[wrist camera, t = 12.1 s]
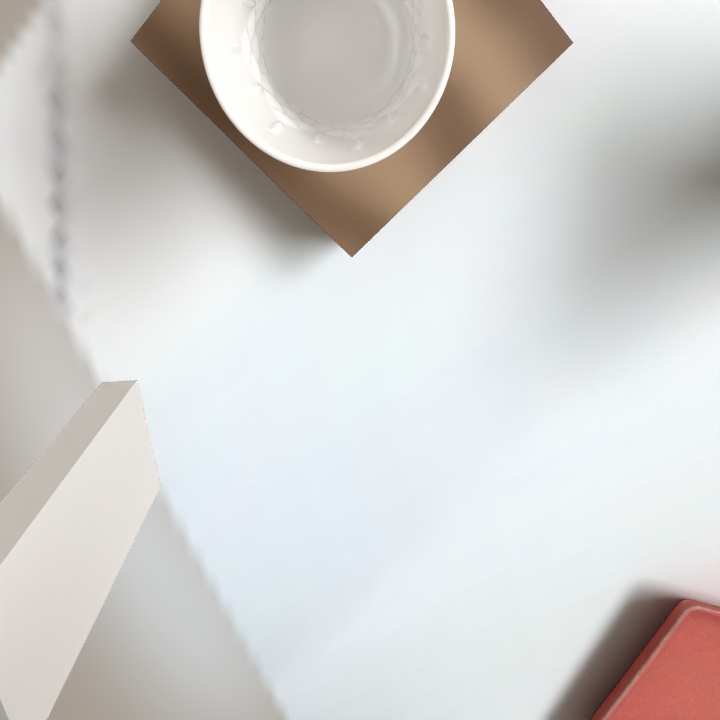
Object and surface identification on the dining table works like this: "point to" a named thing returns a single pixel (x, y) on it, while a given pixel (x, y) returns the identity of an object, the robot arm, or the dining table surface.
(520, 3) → the walnut base
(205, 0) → the white cup
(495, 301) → the dining table surface
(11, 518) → the robot arm
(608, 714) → the plant saucer
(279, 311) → the dining table surface
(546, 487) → the dining table surface
